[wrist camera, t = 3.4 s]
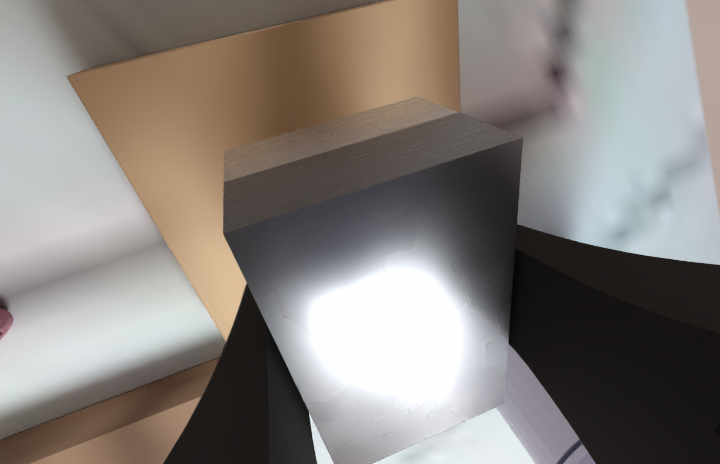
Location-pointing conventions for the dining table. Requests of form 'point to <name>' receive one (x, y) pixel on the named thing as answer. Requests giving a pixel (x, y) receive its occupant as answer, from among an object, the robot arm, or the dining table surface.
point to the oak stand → (256, 112)
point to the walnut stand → (116, 426)
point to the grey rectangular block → (382, 267)
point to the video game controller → (5, 322)
